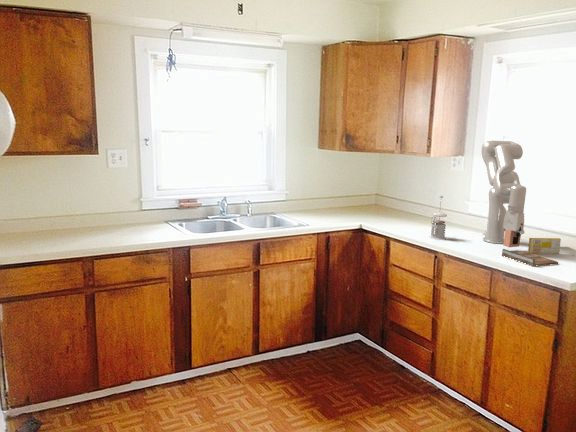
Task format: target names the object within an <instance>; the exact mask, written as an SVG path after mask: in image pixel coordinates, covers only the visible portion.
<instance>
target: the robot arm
mask: <svg viewBox="0 0 576 432" xmlns="http://www.w3.org/2000/svg"><path fill="white" fill-rule="evenodd" d="M523 152H524V151H523V147H522V146H521V145H520V143H517V142H514V141H511V140H487V141H485V142H483V144H482V146H481V156H482V157H481V158H482V159H483V162H484V165H485V167H486V171H487V172H486V173H487V178H488V182H489V185H490V186H492V187H491V188H490V189H489V190H488V202H489V203H488V215H487V225H486V231H484V232H482V235H483V236H484V237H483V238H482V240H483V242H487V243H491V244H501V245H502V244H504V236H505V229H508V230H512V231H514V237H513V244H518V239H519V237H520V236H522V235H523V234H525V230H524V228H525V212H524V209H525V202H526V195H527V187H526V186H524V185H522V184H521V182H520V176H519V175H518V173H517V172H515V168H516V164H515V161H514V160H520V159H521V158H522V157H523V154H524V153H523ZM507 204H508V206H507V209H506V207H505V205H507Z"/></svg>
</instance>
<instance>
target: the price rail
mask: <svg viewBox="0 0 576 432" xmlns="http://www.w3.org/2000/svg"><path fill="white" fill-rule="evenodd" d="M502 254H505V255H508V256H511V257H514V258H517V259H520V260H523V261H526V262H529V263H532V264H535V259H534V258H531V257H527V256H524V255H521V254H518V253H516V252H514V251H512V250H509V249H506V248H502V253H501V255H502Z"/></svg>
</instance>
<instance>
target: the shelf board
mask: <svg viewBox="0 0 576 432" xmlns="http://www.w3.org/2000/svg"><path fill="white" fill-rule="evenodd" d="M515 253H518V254H521V255H524V256H527V257H531V258H534V259H535V264H532V263H529V262H526V261H523V260H520V259H517V258H514V257H511V256H508V255H505V254H502V253H501V257H504V256H505V257H504V258H506V257H508V258H507V259H509V258H511V259H510V260H512V259H514V260H513V261H515V260H517V261H516V262H518V261H520V262H519V263H521V262H523V263H522V264H524V263H526V264H525V265H527V264H529V265H528V266H530V265H532V266H531V267H537V266H536V265H544V266H551V265H550V264H556V265H559V261H557V260H553V259H550V258H548V257H544V256H542V255H537V254H532V253H528V251H519V252H518V251H516V252H515Z"/></svg>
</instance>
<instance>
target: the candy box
mask: <svg viewBox="0 0 576 432" xmlns="http://www.w3.org/2000/svg"><path fill="white" fill-rule="evenodd" d="M561 242H562V239H561V238H557V237H556V238H555V237H529V238H528V251H527V252H528V253H534V254H535V255H537V254H540V255H543V254H544V255H545V254H546V255H560V252H561V251H560V249H561Z"/></svg>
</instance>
